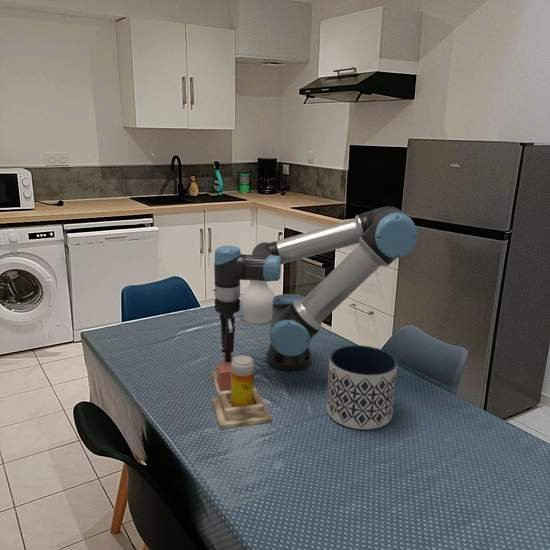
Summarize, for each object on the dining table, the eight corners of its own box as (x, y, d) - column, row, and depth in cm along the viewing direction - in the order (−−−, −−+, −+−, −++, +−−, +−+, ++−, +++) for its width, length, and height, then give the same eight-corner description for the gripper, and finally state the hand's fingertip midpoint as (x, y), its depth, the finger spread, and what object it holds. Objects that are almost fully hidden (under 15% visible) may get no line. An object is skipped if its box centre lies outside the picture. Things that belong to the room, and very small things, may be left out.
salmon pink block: (242, 378, 160) (242, 361, 158) (246, 388, 155) (246, 370, 153) (216, 381, 158) (216, 363, 156) (220, 391, 153) (220, 372, 151)
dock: (246, 369, 168) (247, 358, 167) (271, 422, 140) (271, 408, 138) (203, 374, 165) (203, 362, 163) (220, 428, 136) (219, 415, 135)
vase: (236, 324, 205) (236, 275, 199) (244, 311, 219) (245, 265, 213) (272, 327, 203) (273, 278, 197) (278, 314, 217) (279, 268, 211)
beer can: (251, 415, 140) (252, 365, 136) (229, 414, 141) (229, 364, 137) (254, 404, 146) (255, 355, 142) (232, 402, 147) (233, 354, 142)
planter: (352, 389, 158) (356, 339, 153) (404, 413, 145) (410, 360, 140) (312, 411, 145) (315, 357, 140) (366, 439, 133) (371, 382, 128)
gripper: (211, 291, 160) (212, 361, 167) (217, 306, 148) (218, 380, 155) (235, 290, 162) (235, 359, 169) (243, 304, 150) (243, 378, 157)
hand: (227, 369), depth 162 cm, fingers closed
